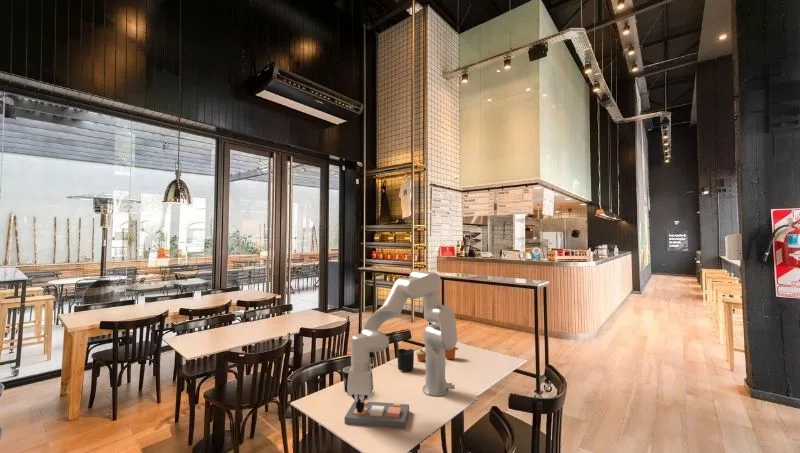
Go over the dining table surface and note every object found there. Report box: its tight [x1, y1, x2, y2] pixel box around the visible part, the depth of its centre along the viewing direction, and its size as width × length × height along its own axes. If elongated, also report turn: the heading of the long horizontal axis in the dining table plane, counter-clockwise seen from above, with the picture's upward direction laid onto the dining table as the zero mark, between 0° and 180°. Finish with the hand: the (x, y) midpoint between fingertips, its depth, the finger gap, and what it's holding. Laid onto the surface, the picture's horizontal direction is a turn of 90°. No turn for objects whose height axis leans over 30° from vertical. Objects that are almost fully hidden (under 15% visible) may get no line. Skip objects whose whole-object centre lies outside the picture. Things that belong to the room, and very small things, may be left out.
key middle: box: [370, 405, 384, 417], centre depth 139 cm, size 5×5×2 cm
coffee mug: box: [342, 365, 351, 393], centre depth 165 cm, size 12×9×10 cm
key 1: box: [353, 408, 368, 415], centre depth 140 cm, size 5×5×2 cm
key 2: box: [387, 407, 401, 418], centre depth 138 cm, size 5×5×2 cm
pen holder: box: [396, 348, 415, 372], centre depth 193 cm, size 9×9×10 cm
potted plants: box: [416, 346, 459, 362], centre depth 210 cm, size 26×16×10 cm, turn 127°
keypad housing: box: [344, 400, 410, 430], centre depth 140 cm, size 24×14×3 cm, turn 81°
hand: (360, 410), depth 140 cm, fingers closed
